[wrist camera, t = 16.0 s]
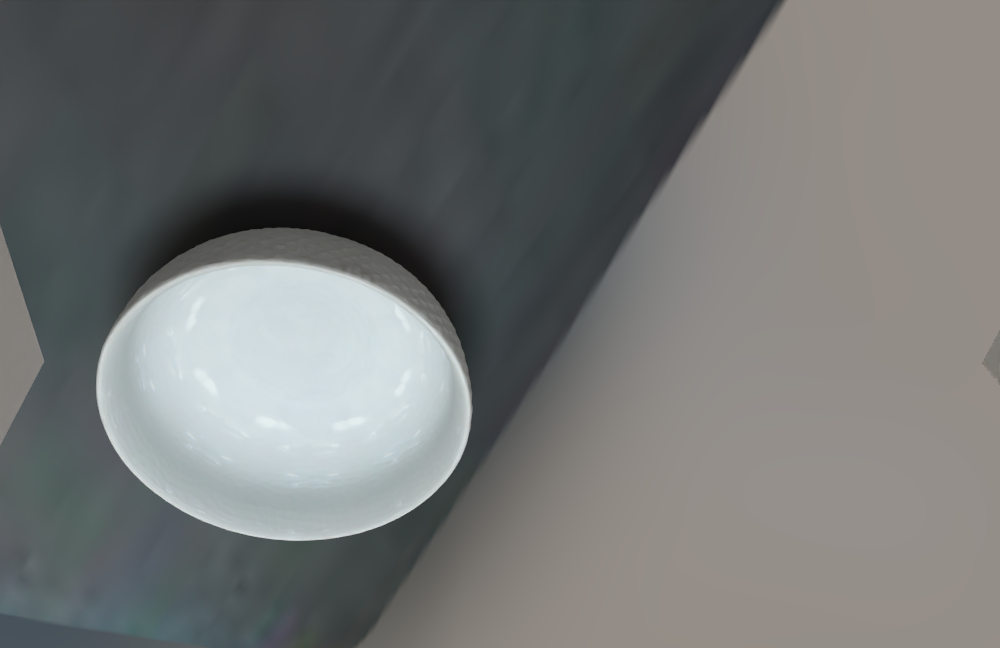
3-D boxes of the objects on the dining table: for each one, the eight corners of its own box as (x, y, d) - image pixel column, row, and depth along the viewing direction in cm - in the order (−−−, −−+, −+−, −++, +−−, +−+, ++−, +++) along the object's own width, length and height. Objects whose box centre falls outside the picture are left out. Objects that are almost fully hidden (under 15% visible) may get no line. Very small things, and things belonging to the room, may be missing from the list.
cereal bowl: (531, 321, 45) (547, 409, 40) (333, 488, 52) (323, 585, 46) (268, 112, 38) (240, 184, 32) (72, 337, 44) (19, 431, 38)
